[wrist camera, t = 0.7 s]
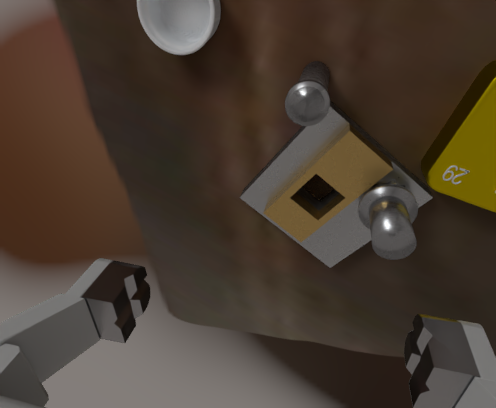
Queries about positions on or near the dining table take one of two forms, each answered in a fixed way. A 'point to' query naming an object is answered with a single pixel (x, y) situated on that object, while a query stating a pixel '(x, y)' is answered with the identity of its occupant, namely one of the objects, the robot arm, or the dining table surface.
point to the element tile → (468, 147)
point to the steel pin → (309, 95)
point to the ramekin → (179, 23)
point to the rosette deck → (347, 218)
